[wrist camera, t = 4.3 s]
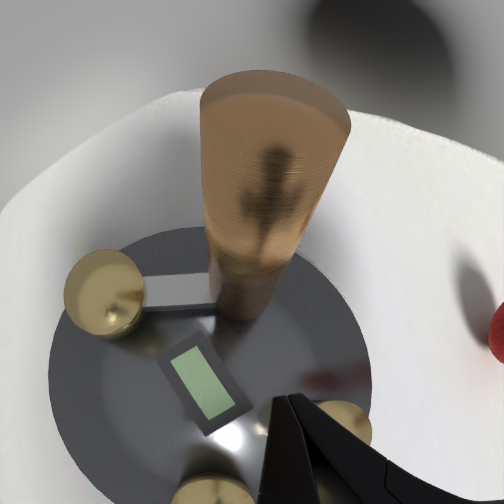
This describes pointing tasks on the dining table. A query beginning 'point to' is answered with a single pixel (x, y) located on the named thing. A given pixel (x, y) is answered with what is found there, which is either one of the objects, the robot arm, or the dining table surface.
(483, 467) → the dining table surface
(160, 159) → the dining table surface
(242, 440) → the tribrach plate
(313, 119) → the knob lever
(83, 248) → the dining table surface
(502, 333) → the onion
